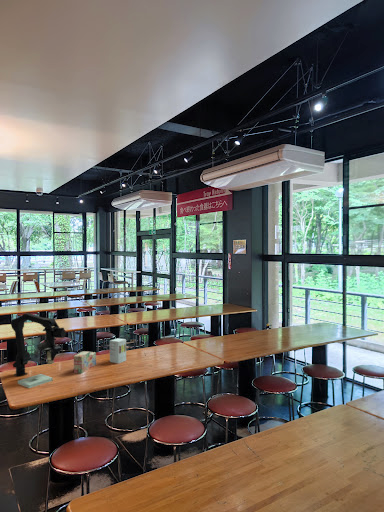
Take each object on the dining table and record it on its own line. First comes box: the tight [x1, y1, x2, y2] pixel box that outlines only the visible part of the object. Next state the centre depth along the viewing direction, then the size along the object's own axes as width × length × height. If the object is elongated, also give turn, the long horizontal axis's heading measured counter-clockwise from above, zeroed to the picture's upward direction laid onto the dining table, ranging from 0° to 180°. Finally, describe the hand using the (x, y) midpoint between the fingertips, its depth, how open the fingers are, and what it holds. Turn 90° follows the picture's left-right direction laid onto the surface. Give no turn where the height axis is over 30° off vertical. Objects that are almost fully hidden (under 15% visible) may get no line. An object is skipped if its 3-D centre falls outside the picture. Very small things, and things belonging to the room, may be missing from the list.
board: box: [17, 373, 53, 389], centre depth 227 cm, size 14×16×2 cm
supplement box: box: [109, 337, 127, 364], centre depth 271 cm, size 10×9×17 cm
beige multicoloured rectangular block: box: [73, 350, 97, 374], centre depth 254 cm, size 21×6×12 cm, turn 168°
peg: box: [46, 351, 55, 365], centre depth 238 cm, size 4×4×8 cm
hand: (50, 360), depth 238 cm, fingers closed on peg, 4 cm apart
